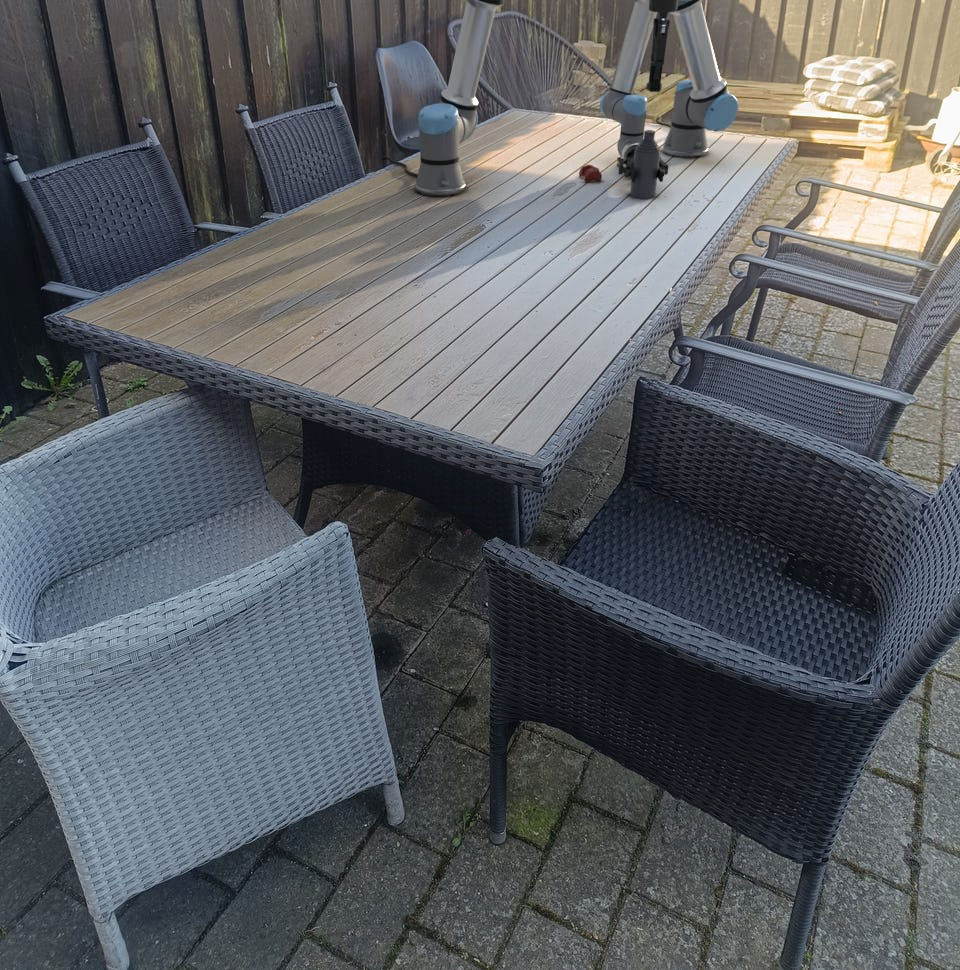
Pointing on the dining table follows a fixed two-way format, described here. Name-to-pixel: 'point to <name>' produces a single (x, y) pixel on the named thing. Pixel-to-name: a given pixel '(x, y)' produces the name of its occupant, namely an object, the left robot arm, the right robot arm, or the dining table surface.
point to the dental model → (590, 173)
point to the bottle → (646, 167)
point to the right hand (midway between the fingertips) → (648, 177)
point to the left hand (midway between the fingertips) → (653, 89)
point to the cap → (649, 86)
